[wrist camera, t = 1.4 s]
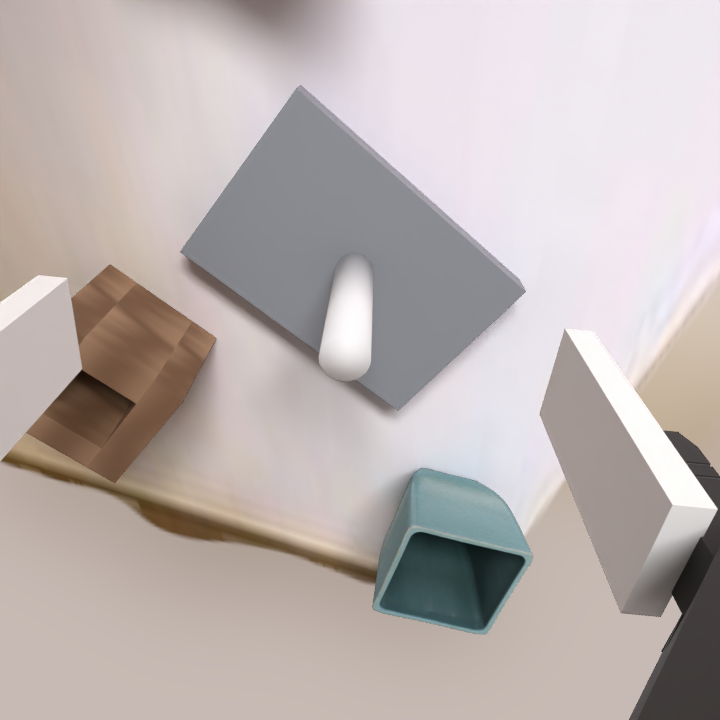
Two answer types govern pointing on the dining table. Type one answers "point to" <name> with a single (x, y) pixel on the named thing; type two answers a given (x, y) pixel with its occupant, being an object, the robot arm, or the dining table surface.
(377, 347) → the spindle stand
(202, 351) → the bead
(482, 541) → the flower pot
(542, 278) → the dining table surface
